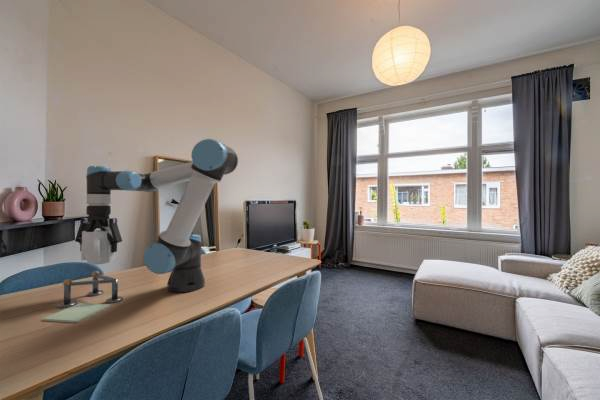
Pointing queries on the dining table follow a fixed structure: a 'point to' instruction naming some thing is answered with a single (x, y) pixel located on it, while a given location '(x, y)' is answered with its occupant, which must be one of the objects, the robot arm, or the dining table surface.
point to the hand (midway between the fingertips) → (98, 260)
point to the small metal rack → (95, 292)
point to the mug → (95, 246)
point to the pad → (76, 313)
